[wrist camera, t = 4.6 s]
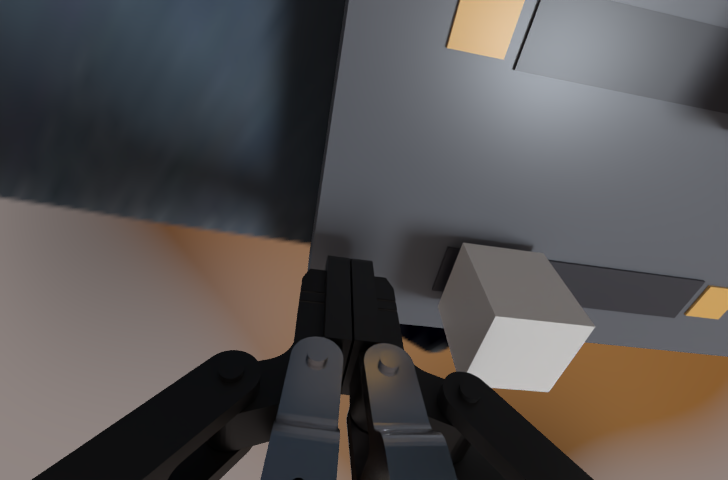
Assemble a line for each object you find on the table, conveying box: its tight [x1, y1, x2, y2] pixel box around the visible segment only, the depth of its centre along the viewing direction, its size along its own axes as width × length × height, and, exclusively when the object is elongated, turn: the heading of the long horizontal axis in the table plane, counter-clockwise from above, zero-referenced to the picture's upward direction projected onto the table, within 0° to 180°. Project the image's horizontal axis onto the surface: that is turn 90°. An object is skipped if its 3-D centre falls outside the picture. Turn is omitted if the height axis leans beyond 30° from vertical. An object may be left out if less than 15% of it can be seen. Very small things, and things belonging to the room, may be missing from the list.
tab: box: [438, 243, 595, 392], centre depth 13 cm, size 3×3×4 cm
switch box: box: [308, 0, 728, 357], centre depth 15 cm, size 20×14×4 cm
